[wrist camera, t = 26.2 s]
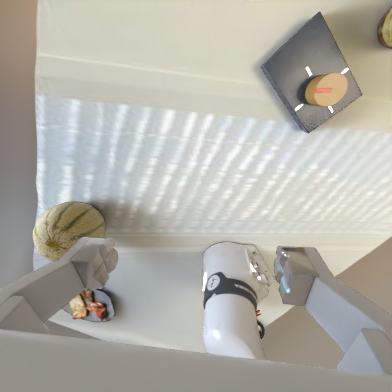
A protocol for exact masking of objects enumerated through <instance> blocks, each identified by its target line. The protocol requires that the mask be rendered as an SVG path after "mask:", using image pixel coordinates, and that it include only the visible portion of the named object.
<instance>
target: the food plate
mask: <svg viewBox="0 0 392 392" xmlns="http://www.w3.org/2000/svg"><path fill="white" fill-rule="evenodd" d="M62 309H63V310H64V311H66V312H68V313H70V314H71V315H72V316H73V319H78V318H80V319H83V320H87V321H91V322H105V321H110V320H111V319H112V318H113V317H114V316H115V312H114V307H113V304H112V303H111V298H110V297H108V296H107V295H106V294H105V293H104V292H102V291H99V290H96V289H93V288H85V290H84V291H82V292H81V293H80V294H79V295H78V296H76V297H75V298H74V299H73V300H71V301H70V302H69V303H68V304H66V305H65V306H64V307H63V308H62Z"/></svg>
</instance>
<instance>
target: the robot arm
mask: <svg viewBox="0 0 392 392" xmlns="http://www.w3.org/2000/svg"><path fill="white" fill-rule="evenodd" d="M114 245H115V244H114V242H113V240H112V239H108V238H90V237H83V238H80V239H79V240H78V241H77V242H76V243H75V244H74V245H73V246H72V247H71V248H70V250H69V251H68V252H67V253H66V254H65V255H64V256H63V257H62V258H61V259H60V260H59V261H57V260H56V261H54V262H52V263H50V264H48V265H46V266H44V267H42V268H40V269H38V270H36V271H34V272H32V273H30V274H28V275H26V276H24V277H22V278H20V279H19V280H17V281H15V282H13V283H11V284H9V285H7V286H5V287H3V288H1V289H0V392H392V315H390V314H389V313H388V312H386V311H385V310H383V309H382V308H380V307H379V306H377V305H376V304H375V303H373V302H372V301H370V300H369V299H367V298H366V297H365V296H363V295H362V294H360V293H359V292H357V291H356V290H354V289H353V288H352V287H350V286H349V285H347V284H346V283H345V282H343V281H342V280H340V279H339V278H334V277H333V275H332V273H331V272H330V270H329V269H328V267H327V265H326V264H325V262H324V261H323V259H322V257H321V256H320V254H319V253H318V251H317V250H316V248H314V247H290V246H278V247H277V251H276V254H277V258H276V259H275V260H274V274H275V278H276V281H277V282H278V283H279V284H280V286H279V292H280V295H281V299H282V302H283V304H290V305H300V306H305V308H306V309H307V311H308V312H309V313H310V314H311V315H312V316H313V317H314V318H315V320H316V321H317V322H318V323H319V324H320V325H321V326H322V327H323V328H324V330H325V331H326V332H327V333H328V334H329V335H330V336H331V337H332V338H333V340H334V341H335V342H336V343H337V344H338V345H339V346H340V347H341V348H342V350H343V351H344V352H345V355H344V356H343V358H342V359H341V361H340V362H339V364H338V365H337V368H338V369H334V368H325V367H317V366H308V365H300V364H291V363H283V362H274V361H268V360H267V358H266V355H265V353H264V350H263V347H262V343H261V339H262V338H263V336H264V327H263V325H262V324H261V323H260V322H258V321H257V319H256V316H259V315H261V314H257V313H259V312H260V310H258V311H256V309H257V303H259V302H261V301H262V300H264V299H265V298H266V297H267V296H268V293H269V291H268V287H269V286H270V285H271V284H272V283H273V282H274V276H273V274H272V273H271V271H270V269H269V268H268V266H267V264H266V263H265V261H264V259H263V258H262V256H261V254H260V253H259V251H258V249H257V248H256V246H255V245H241V244H237V243H233V242H222V243H218V244H215V245H213V246H211V247H209V248H208V249H207V250H206V252H205V253H204V256H203V263H204V267H203V270H202V274H203V276H204V284H203V290H204V298H203V302H204V309H205V316H204V330H203V344H204V348H205V350H206V353H200V352H191V351H183V350H175V349H166V348H158V347H149V346H141V345H133V344H124V343H116V342H107V341H99V340H90V339H81V338H73V337H65V336H57V335H48V333H49V329H48V328H47V326H46V325H45V324H44V322H45V321H46V320H48V319H49V318H50V317H51V316H53V315H54V314H55V313H56V312H58V311H59V310H60V309H61V308H63V307H64V306H65V305H66V304H68V303H69V302H70V301H71V300H73V299H74V298H75V297H76V296H78V295H79V294H80V293H81V292H82V291H84V290H85V288H93V289H102V288H103V286H104V285H105V283H106V281H107V280H108V278H109V273H110V272H111V271H112V270H114V268H115V267H116V265H117V261H118V253H117V251H116V250H115V249H114V248H113V247H114ZM258 325H259V326H260V327H261V328H262V333H261V330H260V331H259V329H258Z"/></svg>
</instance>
